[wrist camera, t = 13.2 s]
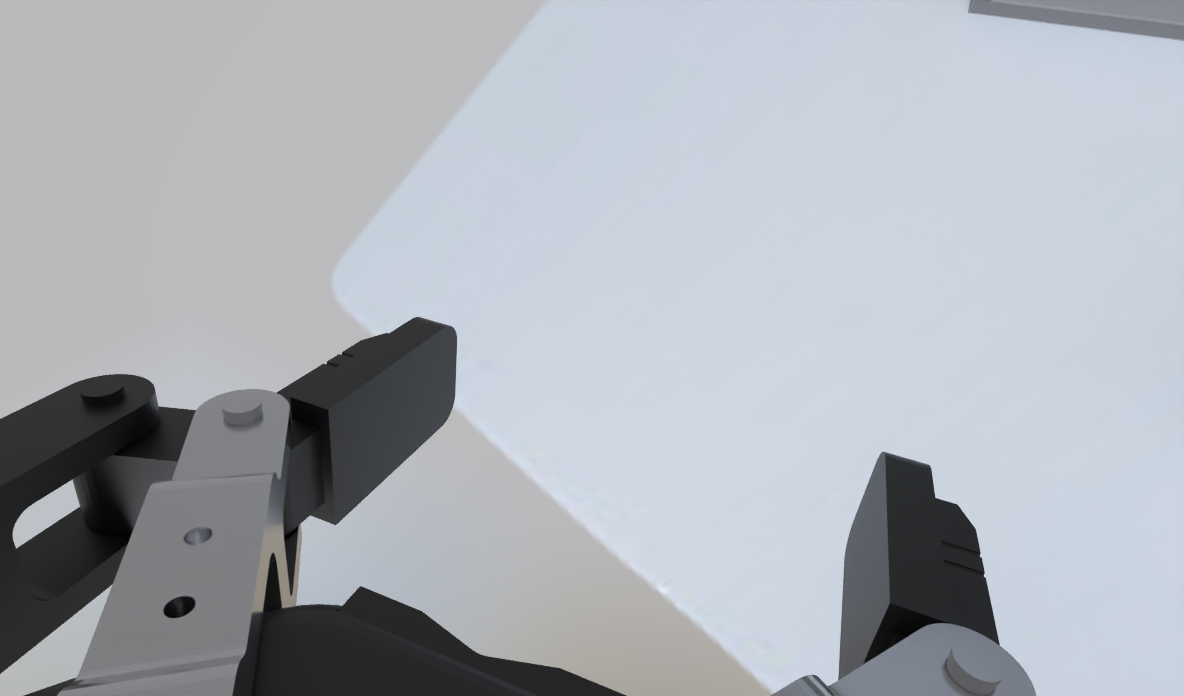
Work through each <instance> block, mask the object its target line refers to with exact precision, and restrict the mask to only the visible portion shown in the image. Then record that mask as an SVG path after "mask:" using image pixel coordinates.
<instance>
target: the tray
mask: <svg viewBox="0 0 1184 696" xmlns="http://www.w3.org/2000/svg"><path fill="white" fill-rule="evenodd" d="M968 13H974V14H982V15H990V16H997V17H1005V18H1013V19H1021V20H1028V21H1036V22H1044V23H1052V24H1059V25H1067V26H1075V27H1083V28H1090V29H1098V30H1106V31H1113V32H1121V33H1129V34H1137V35H1144V36H1152V37H1160V38H1168V39H1175V40H1183V41H1184V0H972V3H971V6H970V9H969V12H968Z"/></svg>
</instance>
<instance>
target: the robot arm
mask: <svg viewBox="0 0 1184 696" xmlns="http://www.w3.org/2000/svg"><path fill="white" fill-rule="evenodd" d="M456 355H457V335H456V331H455V329H454V328H453V327H451V326H448V325H445V324H441V323H438V322H434V321H431V320H427V319H424V318H421V317H415V318H413V319H411V320H410V321H408V322H406V323H405V324H403V325H402V326H400V327H399V328H397V329H395V330H394V331H392V332H391V333H389V334H388V333H385V334H381V335H378V336H375V337H371V338H368V339H364V340H362V341H359V342H358V343H356V344H355V345H353V346H351V347H350V348H348V349H347V350H345V351H343V352H342V355H337V356H335V357H334V358H332V359H331V360H329V361H327V364H322V365H321V366H319V367H318V368H316V369H314V370H313V371H311V372H309V373H308V374H306V375H305V376H303V377H301V378H300V379H298V380H296V381H295V382H293V383H291V384H290V385H288V386H287V387H285V388H283V389H282V390H280V391H278V392H277V393H274V392H271V391H267V390H258V389H247V390H237V391H232V392H228V393H224V394H221V395H218V396H216V397H214V398H211V399H209V400H208V401H206V402H204V403H203V404H202V405H201V406H200V407H199V408H198V409H197V410H187V409H177V408H168V407H158V403H157V397H156V392H155V388H154V385H153V384H152V383H151V382H150V381H149V380H147V379H145V378H142V377H139V376H135V375H127V374H126V375H125V374H114V375H103V376H98V377H93V378H89V379H85V380H82V381H79V382H76V383H74V384H71V385H69V386H67V387H65V388H63V389H61V390H59V391H57V392H55V393H53V394H51V395H49V396H47V397H45V398H43V399H40V400H38V401H36V402H34V403H32V404H30V405H28V406H26V407H24V408H22V409H20V410H18V411H16V412H14V413H12V414H10V415H8V416H6V417H4V418H2V419H0V674H1V672H3V671H4V670H6V669H7V668H8V667H9V666H11V665H12V664H13V663H14V662H16V661H17V660H18V659H19V658H20V657H22V656H23V655H24V654H26V653H27V652H28V651H29V650H31V649H32V648H33V647H34V646H36V645H37V644H38V643H39V642H41V641H42V640H43V639H44V638H45V637H47V636H48V635H49V634H51V633H52V632H53V631H54V630H56V629H57V628H58V627H59V626H61V625H62V624H63V623H64V622H66V621H67V620H68V619H69V618H71V617H72V616H73V615H74V614H76V613H77V612H78V611H79V610H81V609H82V608H83V607H84V606H86V605H87V604H88V603H89V602H91V601H92V600H93V599H95V598H96V597H97V596H98V595H100V594H101V593H102V592H103V591H105V590H106V589H107V588H108V587H110V586H111V585H112V584H113V585H112V588H111V590H110V593H109V596H108V598H107V601H106V604H105V606H104V609H103V612H102V614H101V617H100V619H99V622H98V625H97V628H96V630H95V633H94V636H93V638H92V641H91V644H90V646H89V649H88V651H87V654H86V657H85V659H84V662H83V665H82V667H81V670H80V672H79V674H78V676H77V677H76V678H73V679H71V680H68V681H65V682H62V683H59V684H56V685H53V686H50V687H47V688H45V689H42V690H39V691H36V692H33V693H30V694H27V695H25V696H626V695H623V694H621V693H618V692H616V691H613V690H611V689H609V688H606V687H604V686H602V685H599V684H597V683H594V682H592V681H589V680H587V679H585V678H582V677H580V676H577V675H575V674H573V673H570V672H568V671H565V670H563V669H560V668H555V667H549V666H542V665H536V664H530V663H524V662H518V661H511V660H506V659H500V658H493V657H487V656H483V655H480V654H478V653H476V652H475V651H473V650H472V649H470V648H469V647H468V646H466V645H465V644H464V643H462V642H461V641H460V640H458V639H457V638H456V637H455V636H453V635H452V634H450V633H449V632H448V631H447V630H445V629H444V628H443V627H442V626H440V625H439V624H437V623H436V622H435V621H434V620H432V619H431V618H430V617H428V616H427V615H426V614H425V613H423V612H422V611H420V610H417V609H415V608H412V607H409V606H407V605H405V604H403V603H400V602H398V601H395V600H393V599H390V598H388V597H386V596H383V595H381V594H378V593H376V592H373V591H371V590H369V589H366V588H364V587H361V586H360V587H359V588H358V589H357V590H356V592H355V593H354V594H353V595H352V596H351V597H350V598H349V599H348V600H347V601H346V603H345V604H344V605H343V606H339V605H323V604H322V605H321V604H317V605H300V606H296V602H297V590H298V577H299V566H300V554H301V542H302V532H301V522H303V521H304V520H305V519H306V518H307V517H309V516H310V515H311V516H314V517H316V518H319V519H321V520H324V521H327V522H329V523H332V524H334V525H336V524H338V523H339V522H340V521H341V520H342V519H343V518H344V517H345V516H346V515H347V514H348V513H349V512H350V511H352V510H353V508H355V507H356V506H357V505H358V504H359V503H360V502H361V501H362V500H363V499H364V498H365V497H366V496H368V495H369V494H370V493H371V492H372V491H373V490H374V489H375V488H376V487H377V486H378V485H379V484H380V483H382V482H383V481H384V480H385V479H386V478H387V477H388V476H389V475H390V474H391V473H392V472H393V471H394V470H395V469H397V467H398V466H400V465H401V464H402V463H403V462H404V461H405V460H406V459H407V458H408V457H409V456H410V455H412V454H413V453H414V452H415V451H416V450H417V449H418V448H419V447H420V446H421V445H422V444H423V443H424V442H425V441H426V440H427V439H429V438H430V437H431V436H432V435H433V434H434V433H435V432H436V431H437V430H438V429H439V428H440V427H441V426H442V425H443V424H444V423H445V422H446V420H447V419H448V417H449V415H450V413H451V410H452V407H453V404H454V399H455V383H456ZM72 479H73V483H74V486H75V489H76V493H77V497H78V500H79V504H80V507H79V508H77V509H76V510H74V511H73V512H71V513H70V514H68V515H67V516H65V517H64V518H62V519H61V520H59V521H58V522H56V523H55V524H53V525H52V526H50V527H49V528H47V529H45V530H44V531H43V532H41V533H39V534H38V535H36V536H35V537H33V538H32V539H30V540H29V541H27V542H26V543H24V544H23V545H21V546H20V547H18V548H17V549H16V547H15V545H14V542H13V537H12V533H13V528H14V525H15V523H16V521H17V519H18V518H19V516H20V515H21V514H22V512H23V511H24V510H25V509H27V508H28V507H29V506H30V505H32V504H33V503H35V502H36V501H38V500H40V499H41V498H43V497H45V496H46V495H48V494H49V493H51V492H53V491H54V490H56V489H58V488H59V487H61V486H62V485H64V484H66V483H67V482H69V481H71V480H72ZM984 573H985V572H984V567H983V562H982V558H981V557H980V548H979V543H978V538H977V533H976V529H975V528H974V526H973V525H972V524H971V522H970V521H969V520H968V518H967V517H966V516H965V514H964V513H963V512H962V510H961V509H960V507H959V506H958V505H957V504H953V503H950V502H947V501H943V500H940V499H937V498H935V493H934V486H933V478H932V471H931V467H930V465H928V464H924V463H921V462H917V461H914V460H910V459H907V458H903V457H900V456H896V455H893V454H889V453H886V452H882V453H881V454H880V456H879V458H878V460H877V462H876V464H875V467H874V470H873V472H872V475H871V477H870V480H869V483H868V485H867V488H866V490H865V493H864V496H863V498H862V501H861V503H860V506H859V509H858V511H857V514H856V516H855V519H854V522H853V524H852V527H851V531H850V534H849V538H848V542H847V547H846V552H845V561H844V580H843V600H842V619H841V639H840V659H839V679H838V681H837V682H835V683H833V684H832V685H830V686H826V685H825V684H824V683H823V681H822V680H821V679H820V678H819V677H818V676H816V675H807V676H804V677H802V678H800V679H798V680H796V681H794V682H793V683H791V684H789V685H788V686H786V687H784V688H783V689H781V690H779V691H778V692H776V693H774V694H773V695H771V696H1036V693H1035V689H1034V687H1033V684H1032V682H1031V680H1030V678H1029V677H1028V675H1027V673H1026V672H1025V671H1024V669H1023V668H1022V667H1021V665H1020V664H1019V663H1018V662H1017V661H1016V660H1015V659H1014V658H1013V657H1012V656H1011V655H1010V654H1009V653H1008V652H1007V651H1006V650H1004V649H1003V648H1002V647H1000V645H999V640H998V635H997V630H996V625H995V620H994V616H993V611H992V606H991V601H990V596H989V591H988V587H987V582H986V578H985V577H984Z"/></svg>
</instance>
